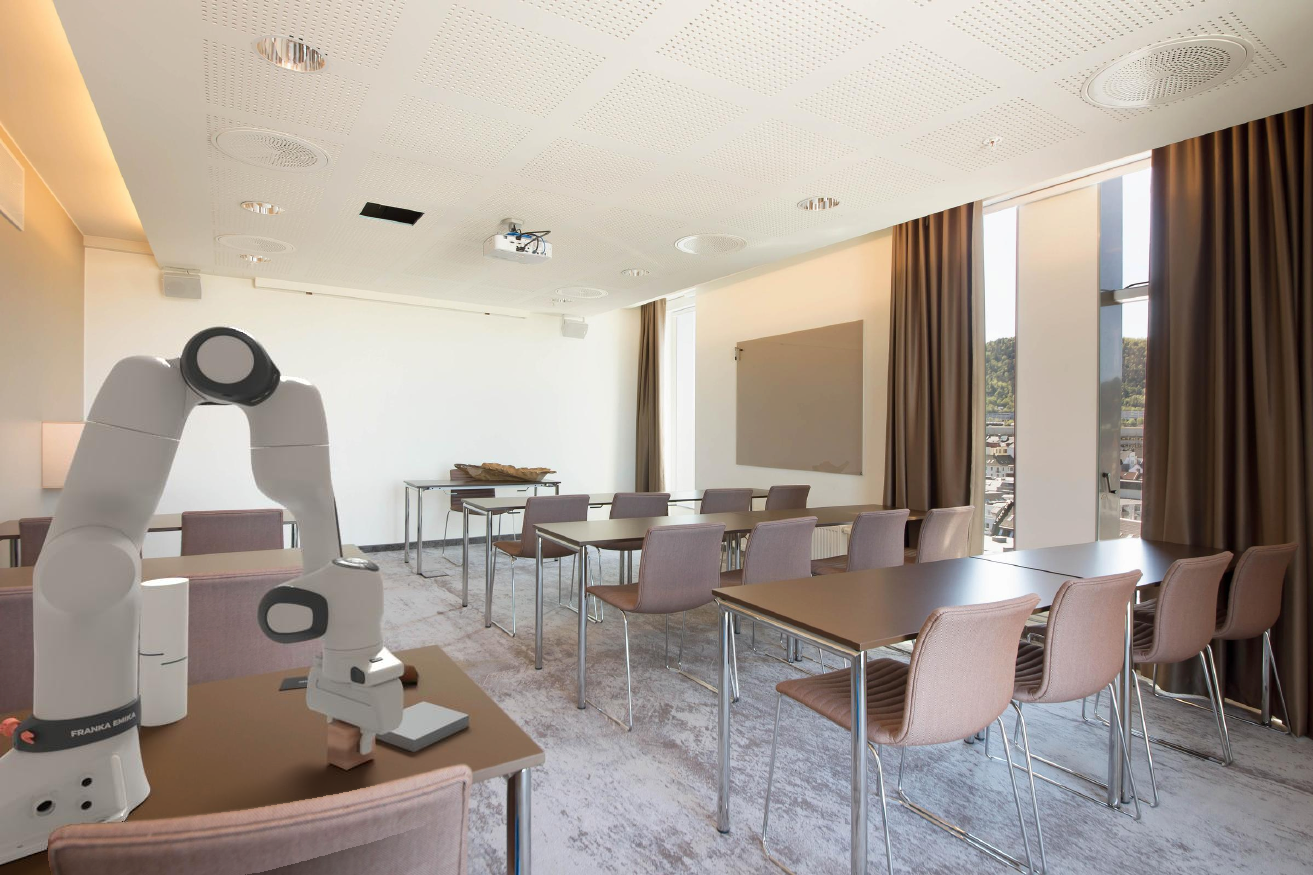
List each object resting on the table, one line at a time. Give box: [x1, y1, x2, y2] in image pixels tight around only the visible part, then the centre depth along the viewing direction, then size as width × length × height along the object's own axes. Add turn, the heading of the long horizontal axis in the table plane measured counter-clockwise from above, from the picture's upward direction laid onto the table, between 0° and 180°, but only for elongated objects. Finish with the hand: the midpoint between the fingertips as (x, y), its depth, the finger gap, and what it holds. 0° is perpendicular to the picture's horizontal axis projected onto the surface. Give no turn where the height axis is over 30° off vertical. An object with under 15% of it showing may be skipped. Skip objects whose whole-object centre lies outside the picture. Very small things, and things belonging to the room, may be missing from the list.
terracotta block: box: [326, 720, 376, 771], centre depth 107 cm, size 5×5×6 cm
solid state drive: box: [278, 675, 309, 691], centre depth 142 cm, size 7×10×1 cm
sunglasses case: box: [398, 663, 421, 685], centre depth 142 cm, size 18×7×7 cm
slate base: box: [375, 700, 470, 753], centre depth 119 cm, size 12×12×2 cm
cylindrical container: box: [138, 577, 190, 727], centre depth 123 cm, size 7×7×25 cm
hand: (351, 747), depth 107 cm, fingers closed on terracotta block, 5 cm apart
